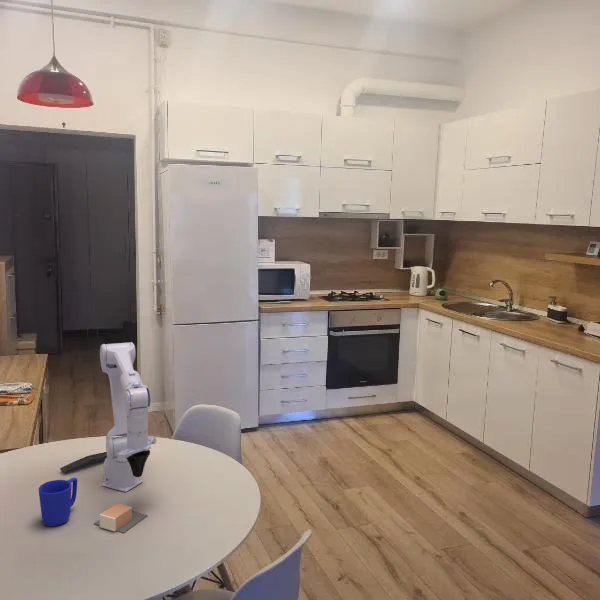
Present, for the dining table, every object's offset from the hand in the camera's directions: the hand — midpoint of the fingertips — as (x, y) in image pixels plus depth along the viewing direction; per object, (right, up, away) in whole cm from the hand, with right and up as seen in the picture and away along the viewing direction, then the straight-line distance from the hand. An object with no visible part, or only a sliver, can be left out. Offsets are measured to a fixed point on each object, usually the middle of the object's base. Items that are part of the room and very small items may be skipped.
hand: (137, 475), depth 165 cm
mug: (-20, -10, -5) cm, 23 cm away
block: (-2, -8, -4) cm, 10 cm away
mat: (-3, -11, -5) cm, 12 cm away
